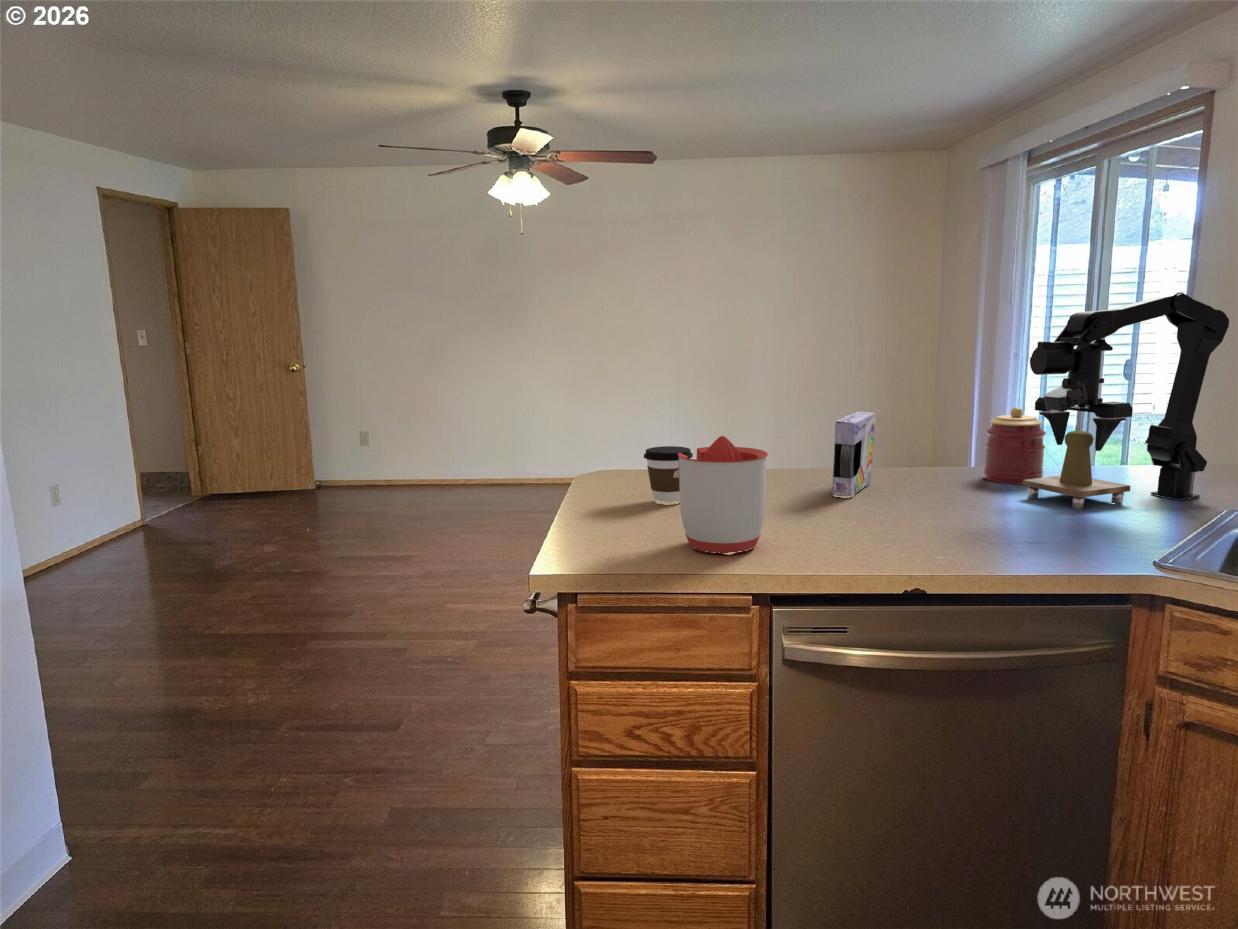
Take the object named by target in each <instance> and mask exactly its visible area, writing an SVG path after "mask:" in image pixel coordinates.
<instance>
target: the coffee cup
mask: <svg viewBox="0 0 1238 929" xmlns="http://www.w3.org/2000/svg"><path fill="white" fill-rule="evenodd" d="M678 453H681V454H684V455H686V456H688V457H687V458H689V459H693V456H694V455H693V452H691V448H689V447H685V446H684V447H683V446H675V445H673V446H671V445H669V446H663V445H662V446H656V447H649V448H647V449H645V453H643V458H644V459H646V462H647V472H648V478H649V484H650V488H651V489H650V490H652V497H653V500H654V499H655V500H659V501H665V502H673V501H680V483H679V478H674V472H675V471H677V470H679V457H678Z"/></svg>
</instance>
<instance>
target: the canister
mask: <svg viewBox="0 0 1238 929" xmlns="http://www.w3.org/2000/svg"><path fill="white" fill-rule="evenodd" d="M1023 414H1024V413H1023V410H1022V408H1021V407H1017V406H1016V407H1015V406H1014V407H1013V408H1012V409H1011V411H1010V414H1007V415H1006V414H1005V415H1002V414H1001V415H998V416H996V417H994V418H992V419H991V420H989V423H990V424H991V426H990V427H989V428H987V429H985V433H986V434H987V440H986V442H985V444H984V446H985V449H984V450H985V454H984V467H983V477H984V479H985V480H987V481H990V482H996V483H1001V484H1008V485H1009V484H1011V485H1023V480H1027V479H1035V478H1044V477H1043V476H1044V474H1043V473H1044V470H1043V469H1044V468H1043V466H1044V457H1045V456H1044V454H1045V453H1044V452H1045V448H1046V445H1044V436H1045V435H1046V434H1047V432H1046V431H1045V430H1044V429H1042V427H1041V426H1042V425H1043V421H1041V420H1039V419H1038V418H1037V417H1036V416H1032V415H1023Z"/></svg>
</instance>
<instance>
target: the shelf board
mask: <svg viewBox="0 0 1238 929" xmlns="http://www.w3.org/2000/svg"><path fill="white" fill-rule="evenodd" d="M1060 476H1061V475H1054V476H1046V477H1042V478H1035V479H1027V480H1023V484H1022V486H1025V487H1033V488H1037V489H1039V490H1043V491H1047V492H1051V493H1055V494H1061V495H1065V496H1066V495H1067V496H1069V497H1073V496H1074V497H1078V498H1082V497H1084V498H1088V497H1096V496H1104V495H1112V494H1113V493H1121V492H1124V493H1127V492H1128V493H1129V492H1131V485H1129V484H1125V483H1119V482H1113V481H1109V480H1102V479H1098V478H1092V484H1091V485H1069V484H1063V483H1060V482H1059V481H1060Z"/></svg>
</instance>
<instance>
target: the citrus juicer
mask: <svg viewBox="0 0 1238 929" xmlns="http://www.w3.org/2000/svg"><path fill="white" fill-rule="evenodd" d="M768 456H769V454H768V452H767V451H765V450H762V449H758V448H753V447H746V446H745V447H743V446H735V445H734V444H733V443H732V441H731V440H730V439H728V438H727V437H726V436H725V435H720V436H719V437H717V438H716V439H715V440H714V441H713V442H712V443H711V445H710V446H705V447H696V459H693V458H690V459H689V458H687V457H688V456H686V455H684V454H681V453H678V457H679V470H677V471H675V472H674V478H679V483H680V504H679V507H680V508H679V511H680V516H681V522H682V525H683V528H684V531H685V537H686V540H687V542H688V544H689V546H690V545H691V546H692V547H693V548H696V549H698V550H701V551H700V552H702V551H708V552H716V553H719V552H720V553H728V552H729V553H730V552H738V551H745V550H748V549H750V548H753V547H754V548H756V546H757V545H758V541H759V539H760V537H761V531H762V528H763V525H764V519H765V515H766V503H767V502H766V501H767V500H766V499H767V494H766V493H767V457H768ZM755 545H756V546H755ZM691 546H690V547H691ZM692 547H691V548H692ZM693 548H692V549H693ZM754 548H753V549H754ZM698 550H697V551H698Z"/></svg>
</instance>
